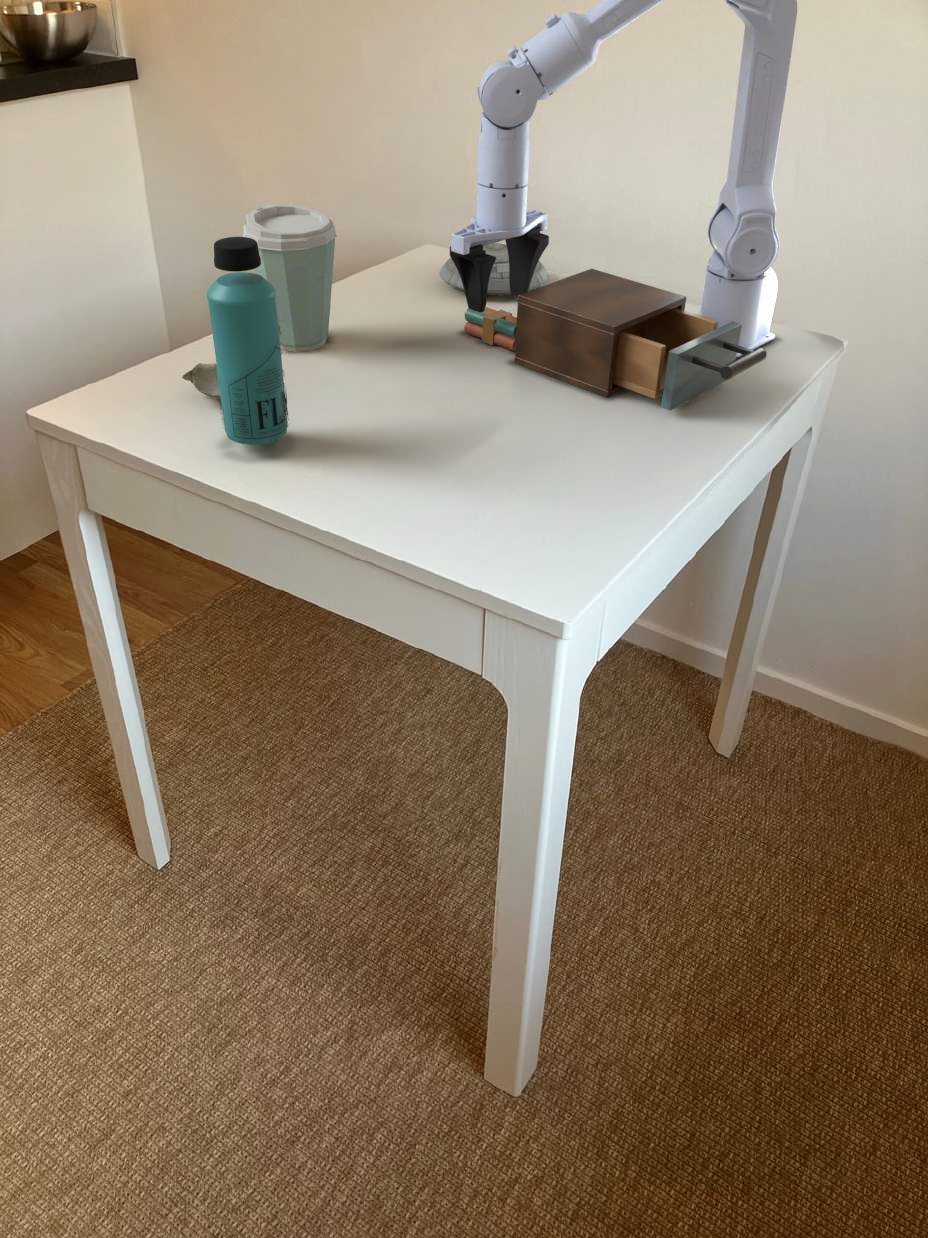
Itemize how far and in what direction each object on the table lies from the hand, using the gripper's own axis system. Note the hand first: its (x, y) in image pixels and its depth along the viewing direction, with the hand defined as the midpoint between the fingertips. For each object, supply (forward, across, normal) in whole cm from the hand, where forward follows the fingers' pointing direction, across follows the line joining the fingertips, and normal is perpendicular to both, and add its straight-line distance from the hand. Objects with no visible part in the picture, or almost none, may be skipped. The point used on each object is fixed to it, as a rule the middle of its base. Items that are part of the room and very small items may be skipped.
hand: (497, 301), depth 125 cm
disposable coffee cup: (+5, +18, -16) cm, 25 cm away
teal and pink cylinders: (+5, 0, 0) cm, 5 cm away
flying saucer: (+5, -15, -14) cm, 21 cm away
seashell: (+5, +33, -10) cm, 35 cm away
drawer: (+4, -3, +24) cm, 24 cm away
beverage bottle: (+5, +38, +2) cm, 38 cm away
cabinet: (+5, -3, +13) cm, 14 cm away
